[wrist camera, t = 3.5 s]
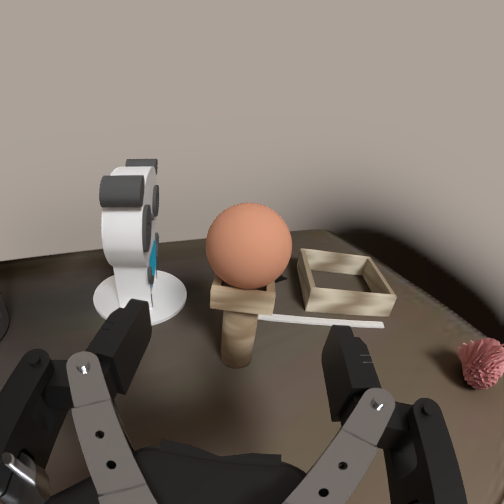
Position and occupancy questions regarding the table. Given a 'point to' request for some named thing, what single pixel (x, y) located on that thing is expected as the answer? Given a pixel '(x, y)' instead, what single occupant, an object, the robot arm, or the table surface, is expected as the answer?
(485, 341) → the flower
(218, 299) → the tee
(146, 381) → the table surface
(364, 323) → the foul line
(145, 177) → the panda figurine
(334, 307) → the corral
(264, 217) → the ball
